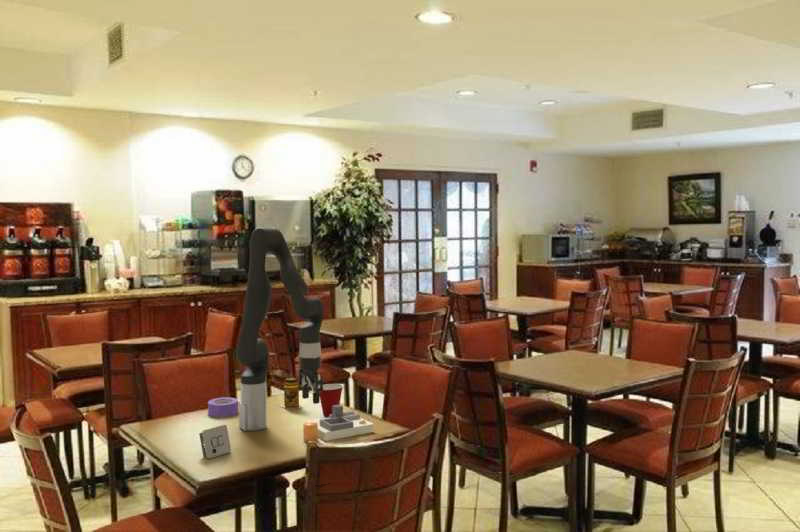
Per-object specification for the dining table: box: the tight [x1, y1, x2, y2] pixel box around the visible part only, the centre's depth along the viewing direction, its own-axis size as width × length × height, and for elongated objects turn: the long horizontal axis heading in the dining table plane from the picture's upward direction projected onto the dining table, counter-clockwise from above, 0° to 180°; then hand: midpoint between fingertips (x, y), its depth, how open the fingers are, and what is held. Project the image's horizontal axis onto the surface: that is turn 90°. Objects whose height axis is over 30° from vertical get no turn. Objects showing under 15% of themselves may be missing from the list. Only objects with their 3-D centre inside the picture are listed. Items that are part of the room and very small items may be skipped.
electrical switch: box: [198, 424, 232, 460], centre depth 225 cm, size 9×5×9 cm, turn 141°
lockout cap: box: [302, 421, 319, 444], centre depth 239 cm, size 5×5×6 cm
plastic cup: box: [319, 383, 345, 418], centre depth 272 cm, size 11×11×12 cm
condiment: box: [278, 377, 303, 411], centre depth 285 cm, size 7×8×12 cm
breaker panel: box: [304, 410, 375, 442], centre depth 251 cm, size 20×16×5 cm
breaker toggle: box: [332, 404, 344, 418], centre depth 255 cm, size 3×3×5 cm
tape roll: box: [207, 396, 239, 418], centre depth 275 cm, size 12×12×5 cm
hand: (310, 400), depth 239 cm, fingers open, 8 cm apart
